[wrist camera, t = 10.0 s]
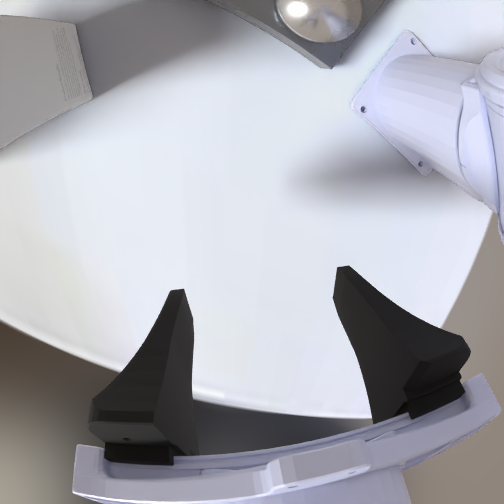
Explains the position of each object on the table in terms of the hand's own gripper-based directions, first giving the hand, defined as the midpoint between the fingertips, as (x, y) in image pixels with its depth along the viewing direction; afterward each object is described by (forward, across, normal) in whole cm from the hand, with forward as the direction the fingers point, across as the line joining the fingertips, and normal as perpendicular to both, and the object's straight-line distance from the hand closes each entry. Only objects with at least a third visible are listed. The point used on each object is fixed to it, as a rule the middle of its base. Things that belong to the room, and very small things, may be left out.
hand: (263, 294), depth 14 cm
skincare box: (+10, +11, -12) cm, 19 cm away
